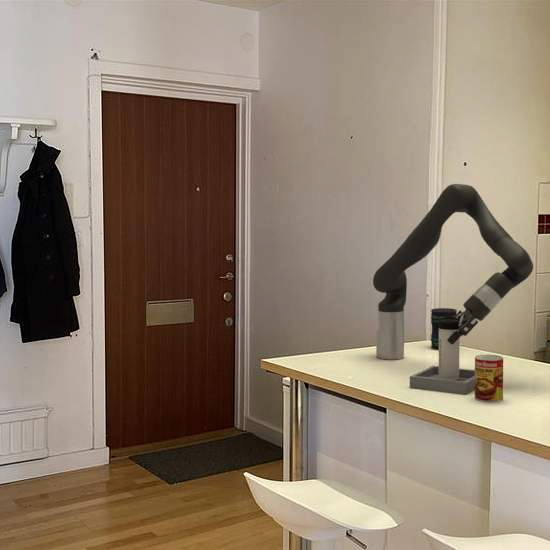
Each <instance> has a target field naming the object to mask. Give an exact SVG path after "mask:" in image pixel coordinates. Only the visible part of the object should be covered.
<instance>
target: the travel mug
mask: <svg viewBox="0 0 550 550" xmlns="http://www.w3.org/2000/svg"><path fill="white" fill-rule="evenodd" d="M458 323H459V319H458V318H455V317H453V316H447V317H443V318H440V319H439V350H438V366H439V379H446V380H454V381H459V369H460V338H459V339H458V340H457V341H456V342H455V343H454V344H453V345H452V344H450V343H449V342H448V341H447V339H448V338H449V337H450V336H451V335H452V334H453V333H454V332H455V331H456V330H457V328H458Z"/></svg>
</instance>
